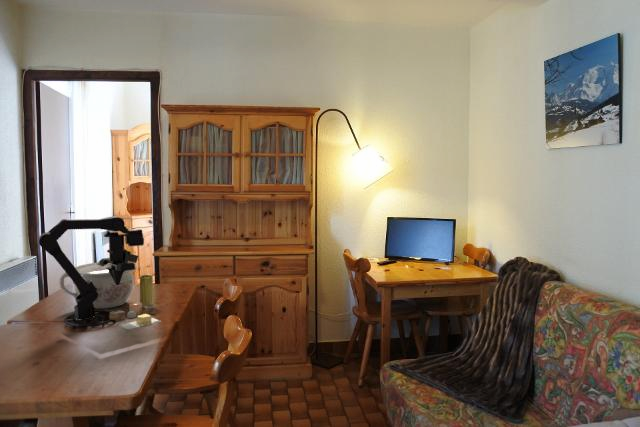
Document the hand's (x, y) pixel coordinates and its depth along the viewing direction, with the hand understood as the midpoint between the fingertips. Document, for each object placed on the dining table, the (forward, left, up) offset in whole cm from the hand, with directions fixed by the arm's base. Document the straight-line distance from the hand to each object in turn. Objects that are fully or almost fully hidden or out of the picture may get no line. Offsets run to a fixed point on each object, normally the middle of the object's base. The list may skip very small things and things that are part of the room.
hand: (117, 284), depth 204 cm
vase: (+14, +2, -13) cm, 19 cm away
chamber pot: (+4, +20, -13) cm, 24 cm away
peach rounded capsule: (+5, -5, -13) cm, 15 cm away
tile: (+1, -19, -12) cm, 22 cm away
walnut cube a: (-4, -7, -13) cm, 15 cm away
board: (-1, -19, -13) cm, 23 cm away
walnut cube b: (+9, -9, -13) cm, 18 cm away
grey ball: (+1, -9, -13) cm, 16 cm away
